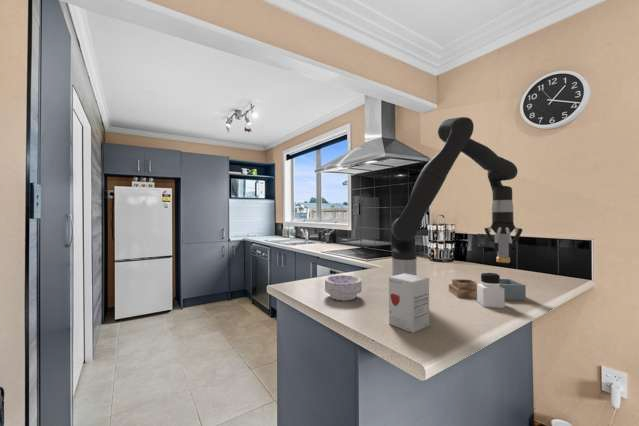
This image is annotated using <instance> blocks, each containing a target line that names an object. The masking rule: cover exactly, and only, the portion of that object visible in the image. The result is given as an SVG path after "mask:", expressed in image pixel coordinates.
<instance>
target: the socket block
mask: <svg viewBox="0 0 639 426" xmlns="http://www.w3.org/2000/svg"><path fill="white" fill-rule="evenodd" d="M477 284H479V283H478V282H476V281H474V280H472V279H468V278H467V279H466V278H465V279H464V278H463V279H460V278H459V279H455V278H452V279H451V283H448V292H449V293H451V294H452V295H453V296H454V297H456V298H469V299H471V298H472V299H474V298H475V299H477Z"/></svg>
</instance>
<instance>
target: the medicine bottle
mask: <svg viewBox="0 0 639 426" xmlns="http://www.w3.org/2000/svg"><path fill="white" fill-rule="evenodd" d="M500 279H501V277H500V274H498V273H495V272H488V271H487V272H482V273H481V274H480V283H478V284H477V298H476V300H477V303H479V305H480V306H482V307H484V308H492V309H496V308H497V309H505V308H506V300H505V289H504V288H502V287H500V286H499V285H500Z"/></svg>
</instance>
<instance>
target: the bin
mask: <svg viewBox="0 0 639 426" xmlns="http://www.w3.org/2000/svg"><path fill="white" fill-rule="evenodd" d="M499 286H500V287H502V288H504V289H505V301H506V300H507V301H512V300H513V301H526V299H527V298H526V297H527V296H526V295H527V294H526V291H527V289H526V288H527V287H526V286H527V285H526V284H523V283H522V282H519V281H516V280H514V279H511V278H500V285H499Z"/></svg>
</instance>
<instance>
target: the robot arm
mask: <svg viewBox="0 0 639 426" xmlns="http://www.w3.org/2000/svg"><path fill="white" fill-rule="evenodd" d="M474 125H475V124H474V122H473V120H472V119H471V118H470V117H466V116H461V117H455V118H454V117H453V118H452V117H451V118H448V119H445V120H443V121H441V122H440V124H439V126H438V128H437V136H438V137H439V140H440V141H442V142H444V145H443V147H442V148H441V150H440V151H439V152H438V153H437V154H436V155H435V156H434V157H433V158H431V159H430V160H429V161H428V162H427V163H426V164H425V165H424V167H423V168H422V169H421V171H420V173H419V175H418V176H417V179H416V181H415V183H414V185H413V188H412V190H411V193H410V196H409V200H408V202H407V204H406V206H405V208H404V209H403V211H402V213H401V214H400V216H398V218H396V219H395V220H394V221H393V222H392V224H391V229H390V236H391V240H390V241H391V242H390V243H391V276H395V275H400V274H404V273H406V274H411V275H417V273H418V272H417V267H418V266H417V263H418V261H417V260H418V259H417V257H418V256H417V249H416V248H417V247H416V236H417V235H418V232H419V229H420V226H421V224H422V222H423V219H424V217H425V214H426V213H427V211H428V209H429V208H430V206H431V205H432V203H433V202H434V200H435V198H436V197H437V195H438V193H440V192H439V191H440V190H441V188H442V186H443V184H444V182H445V180H446V179H447V176H448V175H449V172H450V171H451V170H452V167H454V165H455V162H456V160H458V157H459V155H460V154H461V153H463V154H464V155H466V156H467V157H469V158H470V159H471V160H472V161H474V162H475V163H476V164H477V165H478V166H480V168H482V169H483V170H485V171H487V179H488V182H489V184H490V188H491V191H492V192H491V193H492V202H491V203H492V204H491V205H492V206H491V221H492V223H491V224H490V226H488V227H485V228H484V229H483V230H484V232H485V234H486V236H487V239H488V240H489V242H492V243H493V250H494V251H495V252H496V253H497V252H498V234H509V254H510V253H511V252H513V244H514V243H517V242H518V241H519V239H520V237H521V236H522V235H521V234H522V233H523V229H522V228H521V227H516V226H515V223H514V202H513V188H512V187H511V186H508V185H503V183H502V181H510V180H513V179H515V178H516V177H517V175H518V167H517V166H516V164H515V163H513V162H512V161H510V160H508V159H507V158H504V157H501V156H498V154H497V153H496V152H494V151H493V150H492V149H491V148H490V147H488V146H486V145H484V144H482V143H480V142H478V141H476V140H475V139H473V138H471V137H472V135H473V133H474ZM491 230H492V231H493V232H494V233H495V234H494V238H493V237H492V234H491V232H492V231H491ZM513 231H514V232H515V235H514V237H513V239H512V235H511V234H512V232H513ZM417 276H418V275H417Z"/></svg>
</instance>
